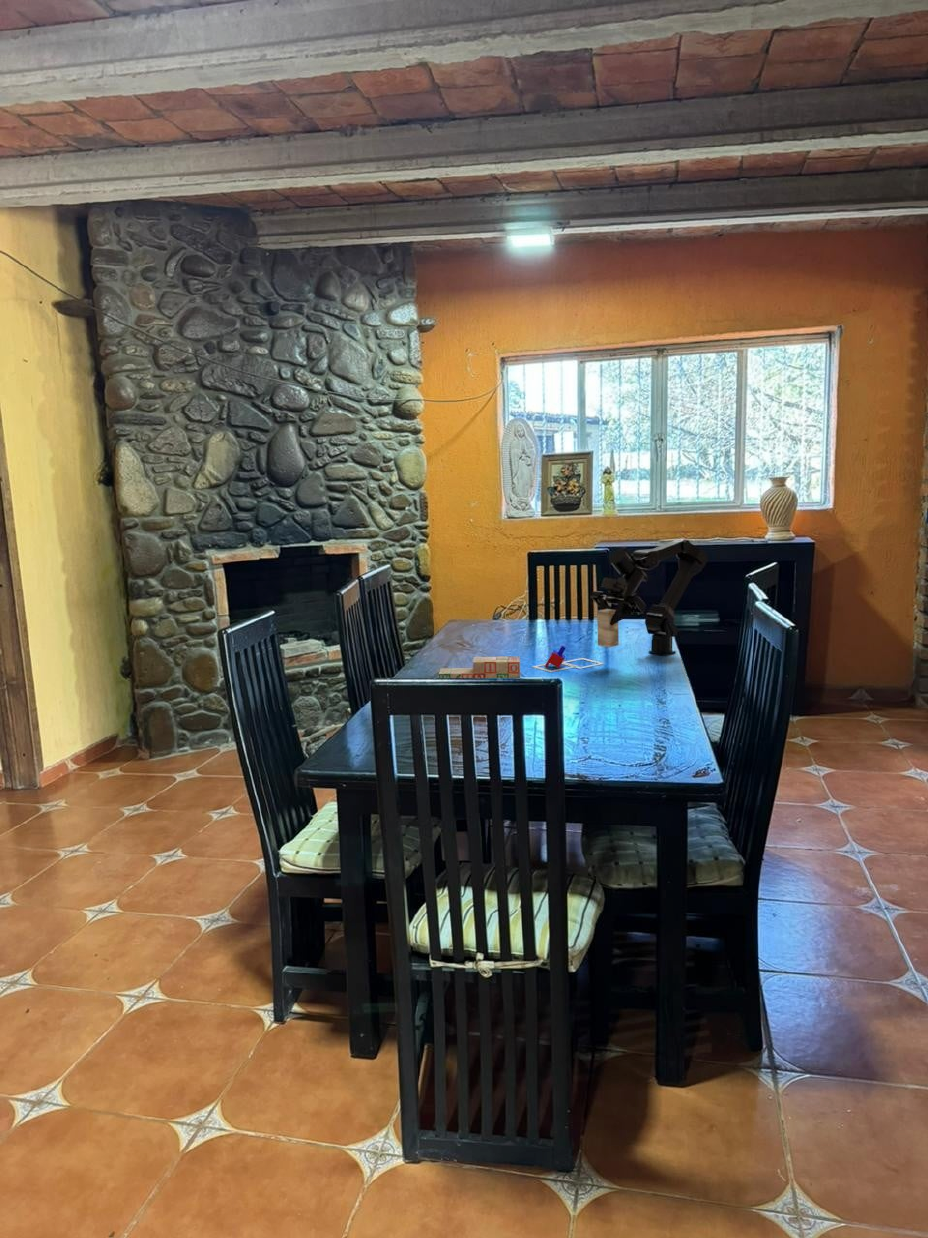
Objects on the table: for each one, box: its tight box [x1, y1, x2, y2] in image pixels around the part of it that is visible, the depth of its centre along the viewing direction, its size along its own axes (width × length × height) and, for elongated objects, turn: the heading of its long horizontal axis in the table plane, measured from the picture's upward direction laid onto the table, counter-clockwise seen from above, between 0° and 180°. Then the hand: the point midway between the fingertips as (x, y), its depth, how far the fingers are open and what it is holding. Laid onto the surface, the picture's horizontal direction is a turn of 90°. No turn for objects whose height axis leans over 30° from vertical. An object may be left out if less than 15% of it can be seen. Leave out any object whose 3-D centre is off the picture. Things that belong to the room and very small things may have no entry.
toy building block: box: [544, 645, 567, 669], centre depth 252 cm, size 4×4×8 cm
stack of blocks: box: [438, 655, 521, 679], centre depth 213 cm, size 21×6×12 cm, turn 86°
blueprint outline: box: [531, 657, 606, 673], centre depth 254 cm, size 20×12×1 cm, turn 123°
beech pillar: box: [596, 608, 620, 648], centre depth 250 cm, size 4×4×11 cm
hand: (604, 623), depth 249 cm, fingers closed on beech pillar, 4 cm apart
